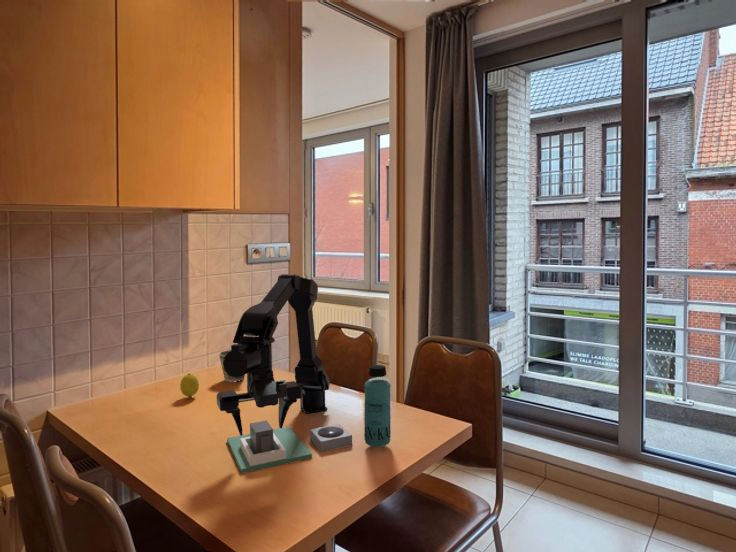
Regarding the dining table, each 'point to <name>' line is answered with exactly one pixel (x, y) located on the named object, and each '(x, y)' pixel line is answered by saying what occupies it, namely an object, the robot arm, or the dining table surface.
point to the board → (284, 451)
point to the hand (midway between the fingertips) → (261, 431)
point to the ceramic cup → (226, 376)
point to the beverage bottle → (377, 408)
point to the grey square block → (330, 437)
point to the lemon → (189, 385)
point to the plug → (261, 437)
